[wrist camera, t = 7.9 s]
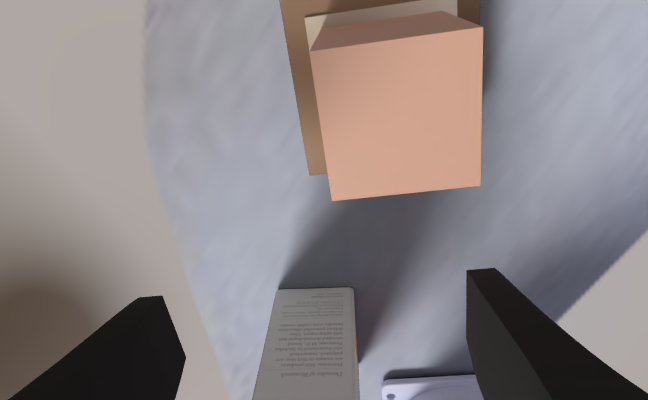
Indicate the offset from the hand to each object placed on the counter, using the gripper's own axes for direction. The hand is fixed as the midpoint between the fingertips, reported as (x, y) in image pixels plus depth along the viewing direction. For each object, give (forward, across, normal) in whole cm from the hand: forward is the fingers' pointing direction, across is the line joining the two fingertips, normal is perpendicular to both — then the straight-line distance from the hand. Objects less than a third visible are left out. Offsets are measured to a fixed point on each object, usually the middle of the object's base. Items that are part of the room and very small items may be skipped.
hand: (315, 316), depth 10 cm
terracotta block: (+8, -2, -4) cm, 9 cm away
